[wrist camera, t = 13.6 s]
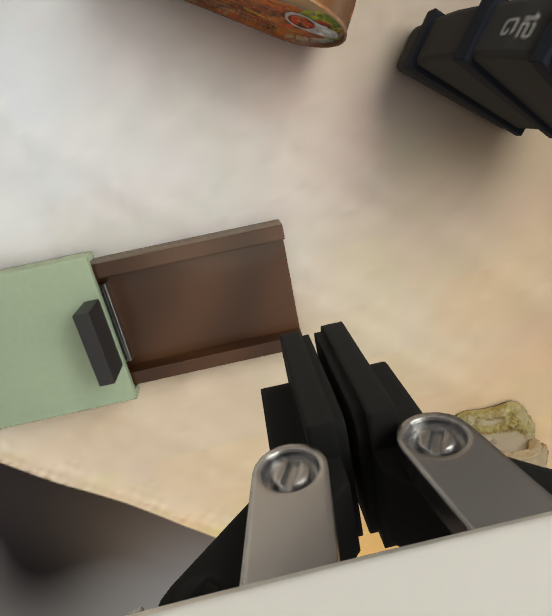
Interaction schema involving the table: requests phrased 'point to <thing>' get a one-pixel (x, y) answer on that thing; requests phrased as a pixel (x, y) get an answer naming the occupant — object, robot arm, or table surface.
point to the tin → (290, 18)
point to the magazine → (489, 61)
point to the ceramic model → (509, 431)
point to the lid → (57, 343)
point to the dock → (202, 300)
